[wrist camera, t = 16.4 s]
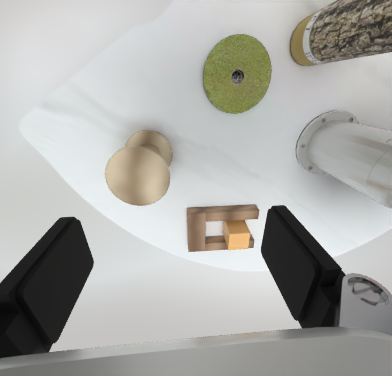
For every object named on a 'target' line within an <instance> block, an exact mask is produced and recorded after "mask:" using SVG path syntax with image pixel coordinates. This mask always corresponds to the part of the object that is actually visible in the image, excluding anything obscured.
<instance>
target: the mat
mask: <svg viewBox="0 0 392 376" xmlns="http://www.w3.org/2000/svg"><path fill="white" fill-rule="evenodd" d="M270 79H271V61H270V58H269V55H268V53H267V51H266V49H265V47H264V46H263V45H262V43H261V42H259V41H258V40H257V39H255V38H253V37H251V36H249V35H244V34H237V35H233V36H229V37H228V38H225V39H223V40H222V41H220V43H218V44H217V45H216V46H215V47H214V49H213V50H212V51H211V53H210V54H209V56H208V58H207V61H206V64H205V67H204V77H203V81H204V87H205V91H206V94H207V96H208V98H209V99H210V101H211V102H212V103H213V104H214V105H215V106H216V107H217V108H219V109H220V110H222V111H224V112H227V113H242V112H245V111H247V110H249V109H251V108H252V107H254V106H255V105H256V104H257V103H258V102H259V101H260V100H261V99H262V98H263V96H264V95H265V93H266V91H267V89H268V86H269V83H270Z"/></svg>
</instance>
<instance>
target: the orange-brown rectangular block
mask: <svg viewBox="0 0 392 376" xmlns="http://www.w3.org/2000/svg"><path fill="white" fill-rule="evenodd" d="M223 234H224V238H225V241H226V244H227V247H228V250H236V249H248V246H249V239H250V231H249V229H248V227H247V225H246V223H245V221H244V220H227V221H224V225H223Z"/></svg>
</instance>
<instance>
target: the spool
mask: <svg viewBox="0 0 392 376" xmlns="http://www.w3.org/2000/svg"><path fill="white" fill-rule="evenodd" d="M171 161H172V148H171V146H170V144H169V142H168V141H167V139H166V138H165V137H164V136H162V135H161V134H159V133H157V132H155V131H150V130H145V131H140V132H137V133H135V134H134V135H133V136H132V137H131V138H130V139H129V140H128V141H127V143H126V146H125V148H123V149H121V150H119V151H117V152H116V153H115V154H114V155H113V156H112V157H111V158H110V160H109V161H108V163H107V165H106V169H105V179H106V183H107V185H108V187H109V189H110V190H111V192H112V193H113V194H114V195H115V196H116V197H117V198H119V199H120V200H122V201H124V202H126V203H128V204H132V205H138V206H143V205H149V204H152V203H155V202H157V201H158V200H160V199H161V198H162V197H163V196H164V195H165V193H166V192H167V190H168V187H169V183H170V171H169V166H170V164H171Z"/></svg>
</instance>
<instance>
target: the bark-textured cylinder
mask: <svg viewBox="0 0 392 376" xmlns="http://www.w3.org/2000/svg"><path fill="white" fill-rule="evenodd" d="M388 52H392V0H337V1H335V2H333V3H332V4H330V5H328V6H326V7H324V8H323V9H321V10H319V11H318V12H316V13H314V14H312V15H310V16H308V17H307V18H305V19H304V20H303V21H302V22H301V23H300V24H299V25H298V26H297V28H296V30H295V31H294V34H293V36H292V40H291V53H292V56H293V58H294V60H295V61H296V62H297V63H299V64H300V65H304V66H310V65H315V64H322V63H328V62H334V61H340V60H346V59H352V58H358V57H364V56H370V55H376V54H382V53H388Z"/></svg>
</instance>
